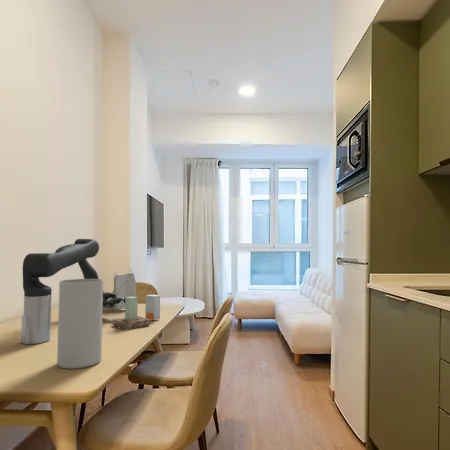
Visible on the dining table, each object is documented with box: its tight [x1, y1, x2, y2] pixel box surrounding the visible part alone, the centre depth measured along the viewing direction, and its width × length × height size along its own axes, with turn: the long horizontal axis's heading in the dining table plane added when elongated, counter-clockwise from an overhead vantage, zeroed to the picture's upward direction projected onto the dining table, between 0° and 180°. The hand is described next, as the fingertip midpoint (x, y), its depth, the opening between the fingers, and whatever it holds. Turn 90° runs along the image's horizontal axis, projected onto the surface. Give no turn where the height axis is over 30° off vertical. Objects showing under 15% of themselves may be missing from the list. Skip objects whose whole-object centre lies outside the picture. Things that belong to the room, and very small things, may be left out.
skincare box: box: [144, 294, 161, 321], centre depth 171 cm, size 6×4×12 cm
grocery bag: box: [111, 268, 137, 311], centre depth 213 cm, size 32×14×23 cm, turn 19°
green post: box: [124, 296, 139, 321], centre depth 158 cm, size 4×4×12 cm
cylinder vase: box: [56, 278, 104, 370], centre depth 107 cm, size 12×12×25 cm
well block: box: [112, 315, 151, 330], centre depth 158 cm, size 12×12×3 cm
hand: (121, 303), depth 166 cm, fingers open, 8 cm apart
